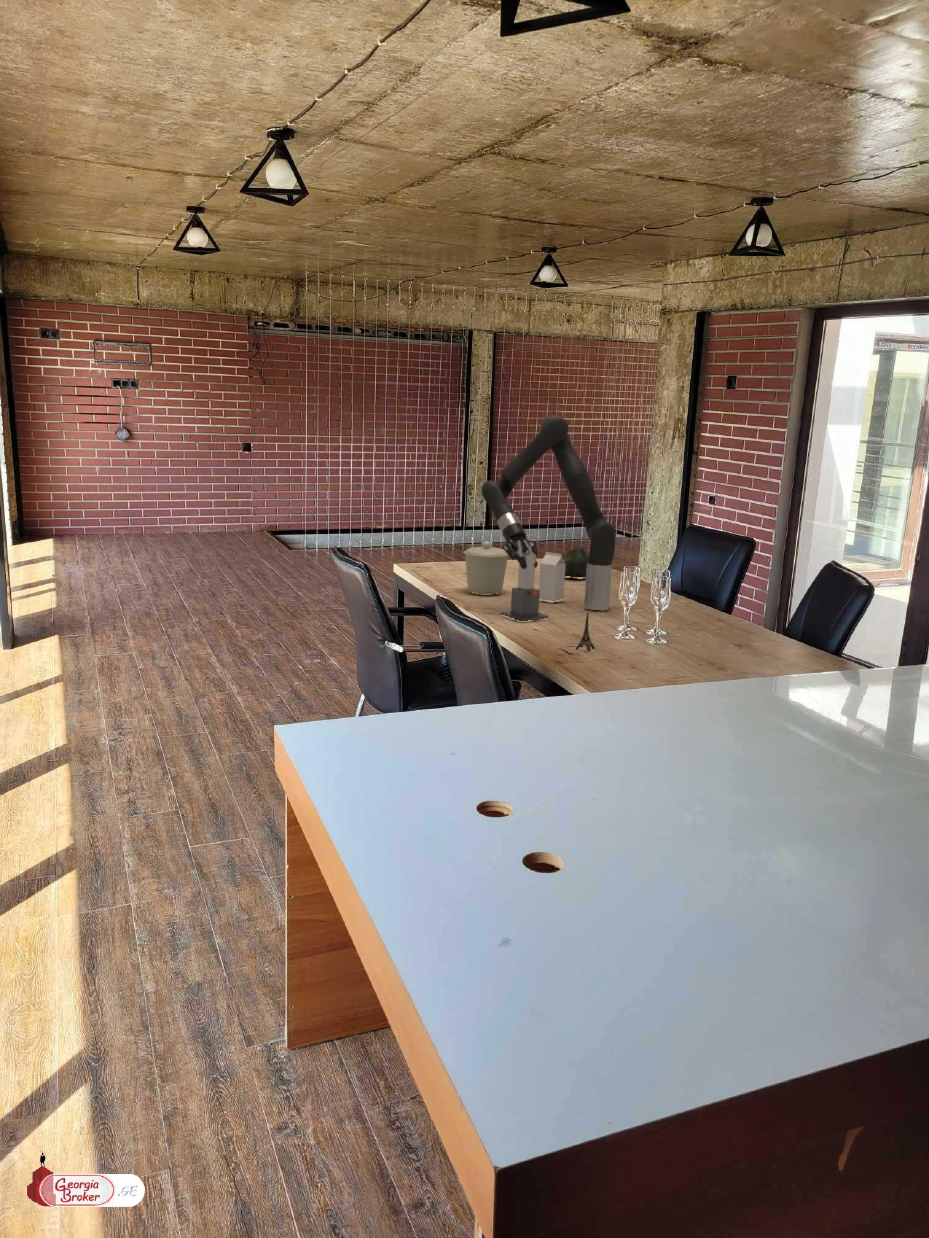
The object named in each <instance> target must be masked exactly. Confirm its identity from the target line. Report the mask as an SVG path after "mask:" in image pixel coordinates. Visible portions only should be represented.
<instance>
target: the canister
mask: <svg viewBox="0 0 929 1238" xmlns="http://www.w3.org/2000/svg"><path fill="white" fill-rule="evenodd" d="M463 554H464V555H465V568H466V569H465V570H466V572H465V573H466V582H467V588H468V591H469V592H470V593H471V592H474V593H478V594H496V593H499V592H500V593H501V592H502V590H503V587H504V583H505V578H506V577H505V576H506V571H507V565H508V559H509V558H508V557H510V556H509V555H508V554H507V553H506V552H505V550H504V549H503V548H499V547H492V542H490V541H489V540H485V541H483V542H482V546H476V547H469V548H468V549H466V550H464V551H463ZM500 593H499V594H500Z"/></svg>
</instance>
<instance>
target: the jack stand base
mask: <svg viewBox="0 0 929 1238" xmlns="http://www.w3.org/2000/svg"><path fill="white" fill-rule="evenodd" d="M539 595H540V590H539V588H536V587H534V590H525V591H524V590H521V589H518V586H517V587H512V588H511V596H510V597H511V598H510V599H511V600H510V603H511V604H510V610H507V611H505V610H504V611H500V616H501V615H505V616H508V617H510V618H514V619H515V620H519V621H528V620H540V619H544V618H548V619H549V615H547V614H544V613H540V612H539V611H540V610H539V609H540V601H539Z"/></svg>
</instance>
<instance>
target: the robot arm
mask: <svg viewBox="0 0 929 1238" xmlns="http://www.w3.org/2000/svg"><path fill="white" fill-rule="evenodd" d="M550 449H551V451H552V453H553V455H554V457H555V460H556V463H557V466H558V470H559V472H560V475H561V477H562V479H563V483H564V485H565V487H566V490H567V491H568V494H569V495H570V497H571V500H572V501H573V503H574V504H575V506H576V509H578V512H579V513H580V517H581V519H582V522H583V524H584V528H585V532H586V534H587V537H588V539H589V541H590V543H589V552H588V554H587V555H588V557H587V571H586V578H585V586H584V587H585V591H584V601H583V608H584V607H585V608H589V609H592V610H608V609H609V610H610V600H611V585H612V584H611V581H612V568H613V567H612V566H613V560H614V556H615V550H616V542H617V541H616V539H617V538H616V537H617V534H616V533H617V531H616V529H615V527H614V525H612V523H610V522H608V521H607V519H606V518H605V516H604V514H603V512H602V510H601V509H600V506H599V504H598V500H597V494H596V491H595V487H594V484H593V481H592V478H591V476H590V474H589V472H588V470H587V468H586V466H585V464H584V462H583V461H582V460H581V458H580V456H579V454H577V452H576V450H575V448H574V447H573V444H572V441H571V439H570V436H569V424H568V422H567V421H566V419H565V418H563V417H561V416H560V415H554V414H553V415H549V416H547V417H545V418H544V419H543V421H542V422H541V426H540V430H539V432H538V433H537V434H536V436H535V438H534V439H533V440H532V441H531V442H530V443H529V444H528V445H527V446H526V447H524V449H522V450H521V451H520V452H519V453H518V454H516V455H515V456H514V457H513V458H512V459H511V460H510V461H509V462H508V463H507V464H506V465H505V466H504V468H503V469H502V470H501V471H500V477H501V478H500V479H499V481H498V482H497V481H495V480H490V479H489V480H487V481H485V482H484V483H483V484H482V487H481V495H482V497H483V499H484V501H485V503H486V504H487V505H488V507H489V508H490V510H491V512H492V513H493V516H494V518H495V521H497V525H498V528H499V529H500V532H501V534H502V536H503V539H504V540H505V542H506V543H505V545H504V546H503V547H502V549H503V550H505V552H506V553H507V554H508V555H509V556H508V557H509V558H510V559H511V560H512V561H515V560H516V561H517V562H518V565H519V564H520V566H521V568H522V569H526V567H527V564H526V562H525V560H524V558H522V553H532V554H536V557H537V556H538V555H539V551H538V550H539V549H538V544H537V542H536V541H533V542H531V541H530V540H529V539H528V538H527V534H526V531H525V529H524V528H523V525H522V523H521V521H520V519H519V518H518V516H517V514H516V513H515V511H514V508H513V507H512V505H511V503H509V501H507V499H508V498H509V495H510V494H511V493H512V492H513V489H514V487H515V486H516V484H517V483H518V482H519V481H520V480H521V479H522V478H523V477H524V476H525V475H526V474H527V473H528V472H529V470H531V469H532V468H533V466H534V465H535V464H536V463H537V462H538V461H539V459H540V458H542V457H543V456H544V455H545V454H546V453H547V452H548V451H549V450H550ZM538 564H539V562H538V561H537V559H535V569H536V568H537V567H538ZM585 608H584V609H585ZM609 610H608V611H609Z"/></svg>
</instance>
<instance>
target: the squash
mask: <svg viewBox="0 0 929 1238" xmlns="http://www.w3.org/2000/svg"><path fill="white" fill-rule="evenodd" d="M588 555H589V554H587V552H586V551H585V549H584V548H583V547H576V548H574V549H572V550H569V551H566V552H565V553H563V554H562V558H563V560H564V562H565V563H566V565H565V576H571V577H586V571H587V557H588Z"/></svg>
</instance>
